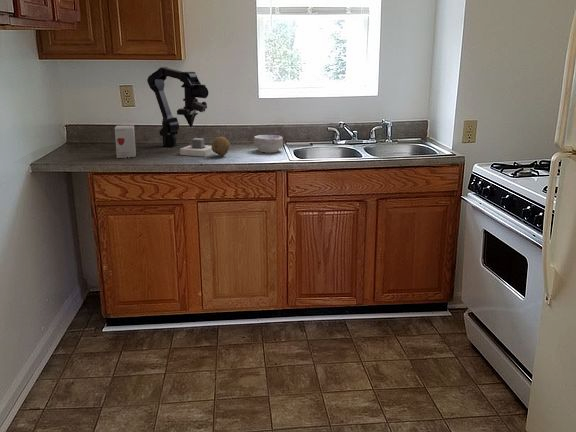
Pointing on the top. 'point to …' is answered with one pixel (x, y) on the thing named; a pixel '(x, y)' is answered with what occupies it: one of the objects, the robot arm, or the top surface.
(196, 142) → the plug
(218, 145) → the natural sponge
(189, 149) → the socket plate
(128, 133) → the supplement box
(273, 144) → the white bowl
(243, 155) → the top surface
